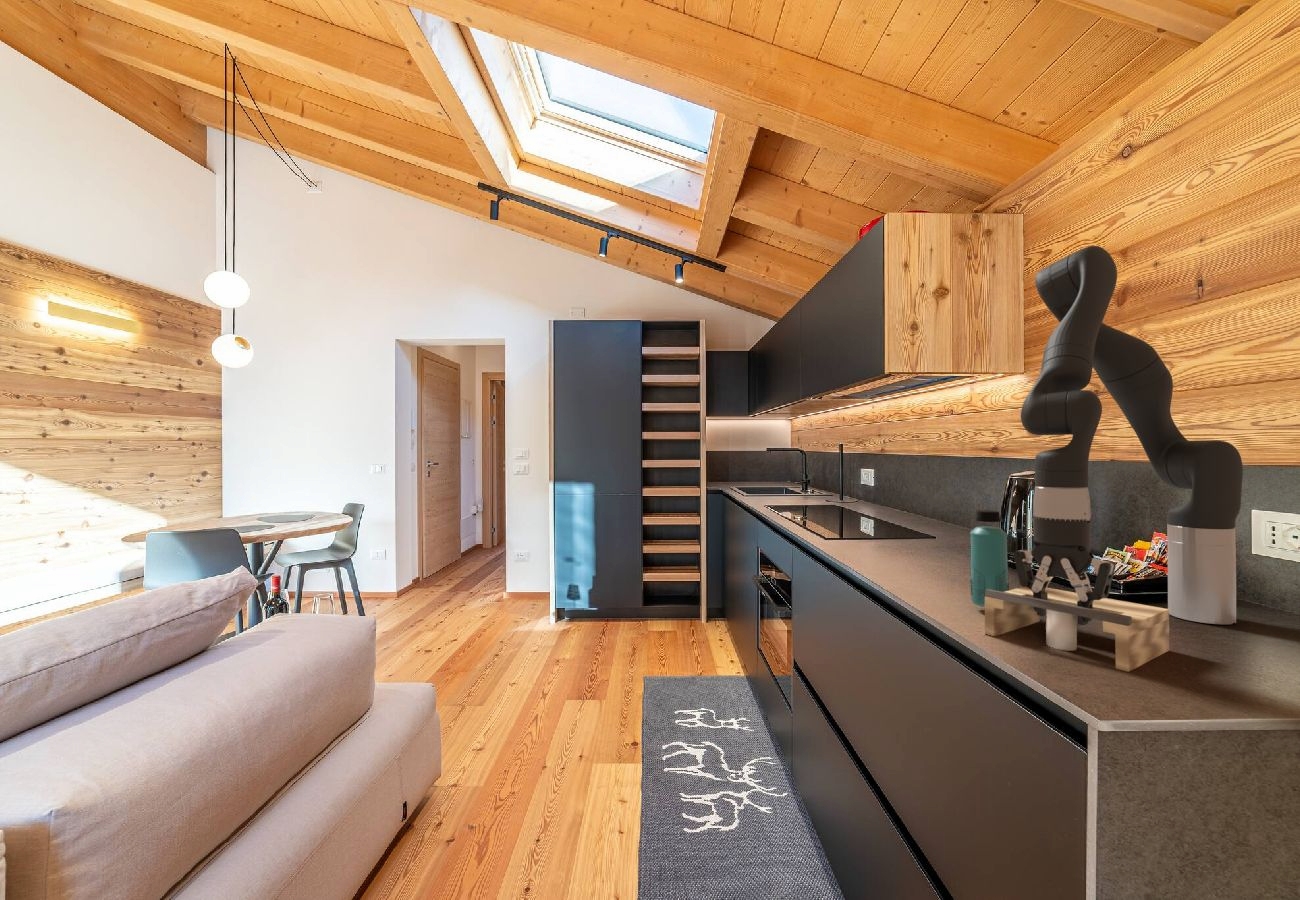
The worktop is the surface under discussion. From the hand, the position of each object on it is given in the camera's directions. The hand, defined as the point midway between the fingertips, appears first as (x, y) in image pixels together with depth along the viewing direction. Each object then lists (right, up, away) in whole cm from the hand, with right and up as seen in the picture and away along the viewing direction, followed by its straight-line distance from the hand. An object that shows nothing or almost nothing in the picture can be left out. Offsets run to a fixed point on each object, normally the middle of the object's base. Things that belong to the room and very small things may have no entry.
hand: (1062, 619), depth 93 cm
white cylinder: (0, -5, 0) cm, 5 cm away
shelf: (+3, -4, +2) cm, 6 cm away
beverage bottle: (0, -5, +20) cm, 21 cm away
